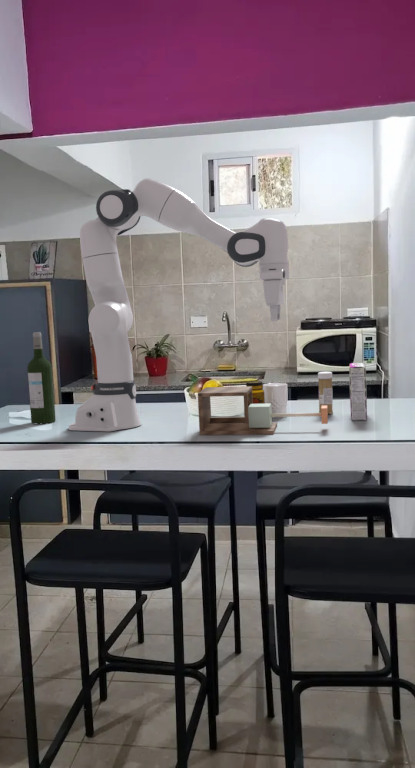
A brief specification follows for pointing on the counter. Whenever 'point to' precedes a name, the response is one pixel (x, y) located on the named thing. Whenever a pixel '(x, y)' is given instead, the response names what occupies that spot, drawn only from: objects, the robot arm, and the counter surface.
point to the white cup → (276, 396)
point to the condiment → (256, 392)
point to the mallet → (276, 415)
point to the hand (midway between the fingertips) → (275, 320)
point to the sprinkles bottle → (325, 391)
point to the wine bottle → (40, 385)
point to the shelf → (227, 424)
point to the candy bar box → (358, 391)
